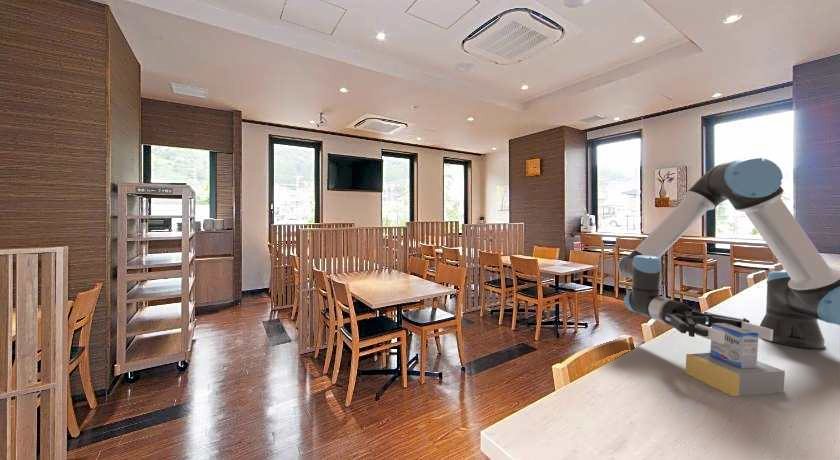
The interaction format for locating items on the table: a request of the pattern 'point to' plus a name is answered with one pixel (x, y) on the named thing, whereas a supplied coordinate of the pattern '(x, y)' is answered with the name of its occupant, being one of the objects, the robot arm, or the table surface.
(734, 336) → the medicine box
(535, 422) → the table surface
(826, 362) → the table surface
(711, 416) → the table surface
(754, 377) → the block
